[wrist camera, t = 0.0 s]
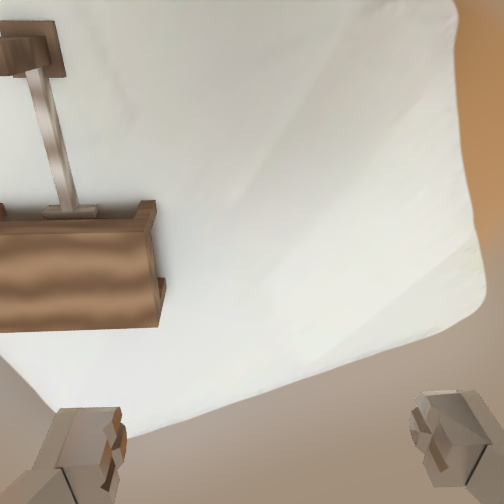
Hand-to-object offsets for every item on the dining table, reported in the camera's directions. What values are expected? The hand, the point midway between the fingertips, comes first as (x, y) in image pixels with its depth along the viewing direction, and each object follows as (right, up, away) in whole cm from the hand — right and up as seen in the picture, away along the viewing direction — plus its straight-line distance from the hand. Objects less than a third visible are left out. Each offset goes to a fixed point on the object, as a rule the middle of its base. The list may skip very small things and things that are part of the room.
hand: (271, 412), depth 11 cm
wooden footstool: (-27, +5, +51) cm, 58 cm away
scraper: (-27, +21, +42) cm, 54 cm away
